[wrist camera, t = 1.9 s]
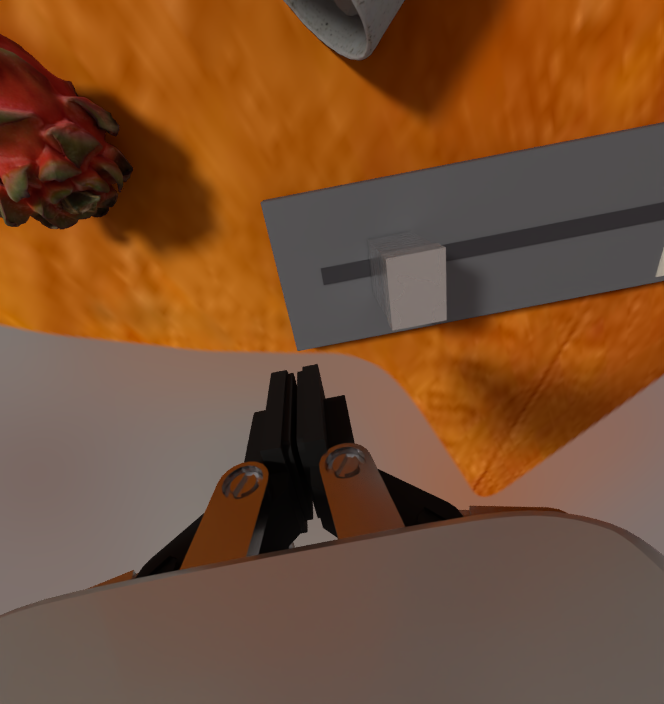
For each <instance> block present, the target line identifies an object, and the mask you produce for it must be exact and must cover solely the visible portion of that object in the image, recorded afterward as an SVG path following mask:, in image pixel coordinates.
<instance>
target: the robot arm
mask: <svg viewBox="0 0 664 704" xmlns="http://www.w3.org/2000/svg"><path fill="white" fill-rule="evenodd" d="M313 503H314V507H315V510H316V514H317V517H318V518H321V522H322V525H323V528H324V529H326V530H327V531H328V532H330V533H331V534H333V535H334V536H336V537H337V538H338V540H333V541H327V542H322V543H317V544H312V545H306V546H301V547H296V548H295V546H294V543H293V541H294V540H295V539H296V538H297V537H298V536H299V534H300V533H306V532H307V520H312V519H313ZM0 704H664V556H663V555H662V554H661V553H660V552H658V551H657V550H656V549H654V548H653V547H652V546H651V545H649V544H648V543H646V542H645V541H643V540H642V539H641V538H639V537H637V536H635V535H634V534H632V533H630V532H628V531H627V530H625V529H622V528H620V527H617V526H615V525H613V524H610V523H607V522H604V521H600V520H597V519H593V518H589V517H585V516H580V515H574V514H568V513H566V512H564V511H562V510H559V509H554V508H548V507H503V506H469V510H458V509H457V508H456V507H454V506H453V505H451V504H450V503H448V502H446V501H444V500H442V499H440V498H438V497H436V496H434V495H432V494H429V493H427V492H425V491H423V490H421V489H419V488H417V487H415V486H413V485H411V484H409V483H406V482H404V481H402V480H400V479H398V478H395V477H393V476H392V475H389V474H387V473H385V472H383V471H381V470H379V469H377V467H376V465H375V463H374V461H373V459H372V457H371V455H370V453H369V452H368V450H367V449H366V448H364V447H363V446H361V445H358V444H355V443H354V438H353V434H352V428H351V424H350V419H349V414H348V409H347V404H346V400H345V395H342V396H337V397H332V398H327V399H325V395H324V390H323V386H322V381H321V377H320V373H319V368H318V365H317V364H315V365H310V366H305V367H303V371H300V372H298V373H297V384H296V380H295V376H294V374H293V373H290V374H288V372H287V370H285V371H279V372H274V373H271V378H270V385H269V391H268V399H267V406H266V410H264V411H259V412H255V413H254V415H253V421H252V426H251V430H250V435H249V441H248V446H247V451H246V456H245V461H244V463H241V464H239V465H236V466H234V467H233V468H231V469H230V470H228V471H227V472H226V473H225V474H224V475H223V476H222V477H221V479H220V481H219V482H218V484H217V486H216V488H215V491H214V493H213V495H212V497H211V500H210V502H209V504H208V507H207V509H206V511H205V513H204V514H202V515H201V516H200V517H199V518H198V519H197V520H196V521H194V522H193V523H192V524H191V525H190V526H189V527H187V528H186V529H185V530H184V531H183V532H182V533H180V534H179V535H178V536H177V537H176V538H175V539H174V540H172V541H171V542H170V543H169V544H168V545H166V546H165V547H164V548H163V549H162V550H161V551H159V552H158V553H157V554H156V555H155V556H154V557H152V558H151V559H150V560H149V561H148V562H147V563H146V564H145V565H144V566H143V567H142V569H141V570H140V572H139V573H137V574H136V573H135V572H134V570H132V571H130V572H127V573H125V574H122V575H120V576H117V577H115V578H112V579H110V580H107V581H105V582H103V583H100V584H98V585H95V586H93V587H90V588H88V589H85V590H80V591H76V592H72V593H68V594H64V595H60V596H56V597H52V598H48V599H44V600H41V601H38V602H35V603H32V604H29V605H26V606H23V607H20V608H17V609H14V610H12V611H9V612H7V613H4V614H2V615H0Z"/></svg>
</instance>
